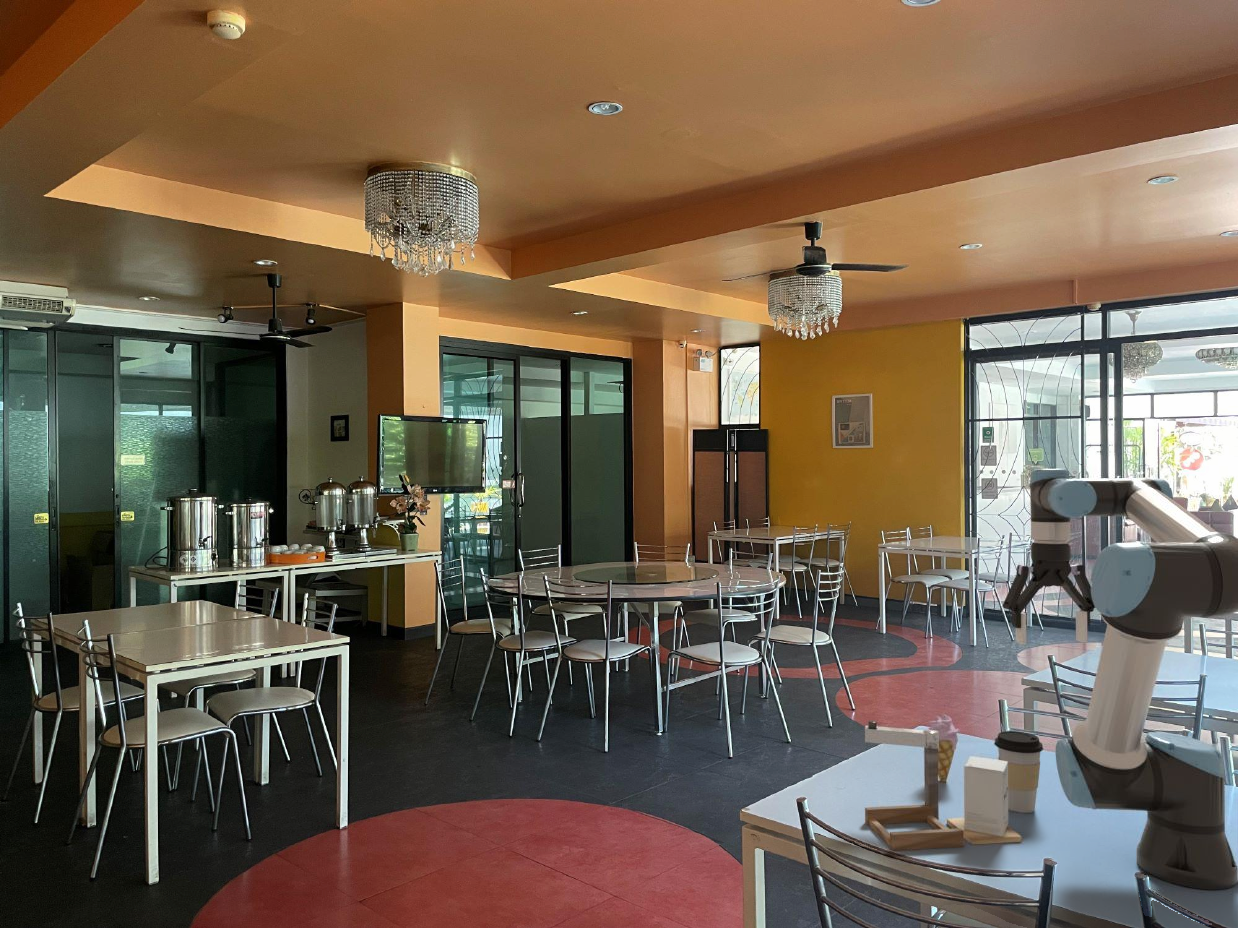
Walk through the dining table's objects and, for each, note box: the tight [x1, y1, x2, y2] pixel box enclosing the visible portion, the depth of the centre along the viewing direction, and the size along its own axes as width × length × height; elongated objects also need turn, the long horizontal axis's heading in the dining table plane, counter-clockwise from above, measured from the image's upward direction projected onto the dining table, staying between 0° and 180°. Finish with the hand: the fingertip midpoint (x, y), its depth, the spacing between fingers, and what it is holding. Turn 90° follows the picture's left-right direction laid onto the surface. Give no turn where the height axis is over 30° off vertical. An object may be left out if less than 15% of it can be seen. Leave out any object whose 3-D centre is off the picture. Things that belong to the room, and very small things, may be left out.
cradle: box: [864, 747, 965, 852], centre depth 175 cm, size 15×16×14 cm
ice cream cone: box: [927, 713, 961, 783], centre depth 203 cm, size 7×6×15 cm
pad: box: [946, 817, 1022, 845], centre depth 174 cm, size 10×10×1 cm
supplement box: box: [963, 755, 1009, 837], centre depth 174 cm, size 7×7×13 cm
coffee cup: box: [993, 730, 1044, 814], centre depth 187 cm, size 9×9×15 cm
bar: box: [864, 720, 939, 749], centre depth 184 cm, size 14×3×4 cm, turn 72°
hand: (1051, 642), depth 187 cm, fingers open, 13 cm apart
